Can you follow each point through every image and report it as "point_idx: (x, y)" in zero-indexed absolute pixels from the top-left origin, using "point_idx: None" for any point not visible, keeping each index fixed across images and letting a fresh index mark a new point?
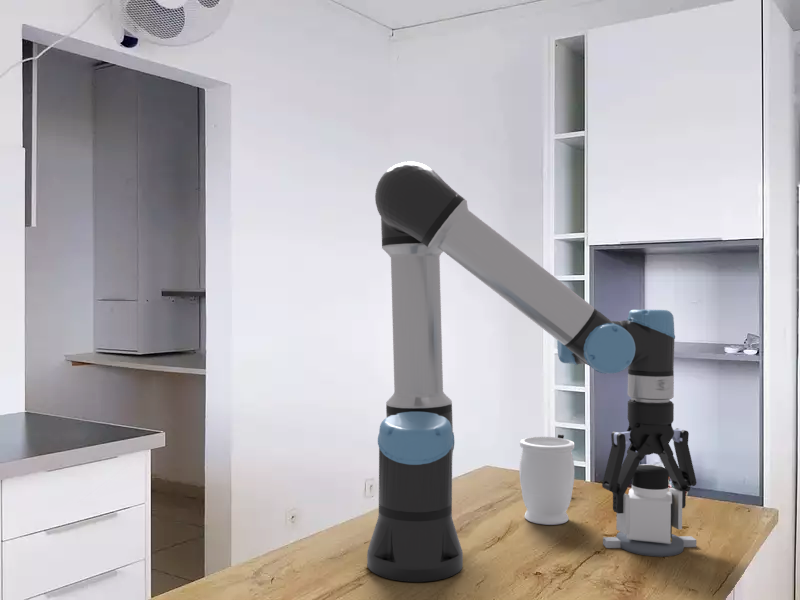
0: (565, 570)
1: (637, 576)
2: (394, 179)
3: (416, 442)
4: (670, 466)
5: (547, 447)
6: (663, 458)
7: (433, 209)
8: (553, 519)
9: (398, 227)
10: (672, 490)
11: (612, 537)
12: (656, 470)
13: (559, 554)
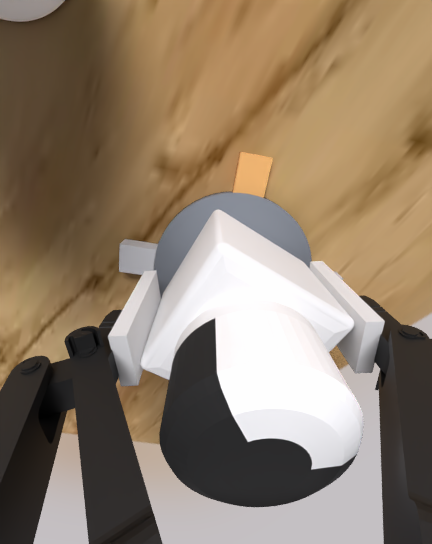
0: (3, 355)
1: (125, 393)
2: None
3: None
4: (383, 480)
5: None
6: (394, 514)
7: None
8: (2, 7)
9: None
10: (358, 339)
11: (143, 250)
12: (254, 506)
13: (2, 280)
